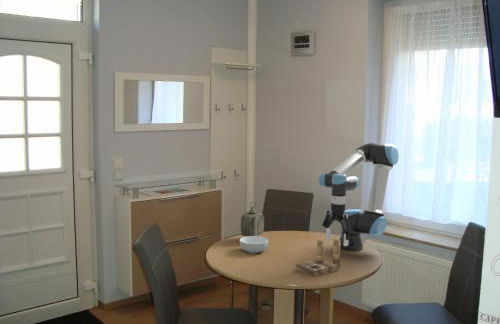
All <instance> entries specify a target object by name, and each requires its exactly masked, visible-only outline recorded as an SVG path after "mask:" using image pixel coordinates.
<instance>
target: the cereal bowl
mask: <svg viewBox="0 0 500 324" xmlns="http://www.w3.org/2000/svg"><path fill="white" fill-rule="evenodd" d="M239 246H240V248H241V249H242V250H243V251H245V252H247V253H248V254H249V253H250V254H259V253H261V252H263V251H265V250H266V249H268V246H269V239H268V237H267V238H266V237H265V236H261V235H259V236H247V237H246V236H243V237H241V238H240V239H239Z"/></svg>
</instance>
